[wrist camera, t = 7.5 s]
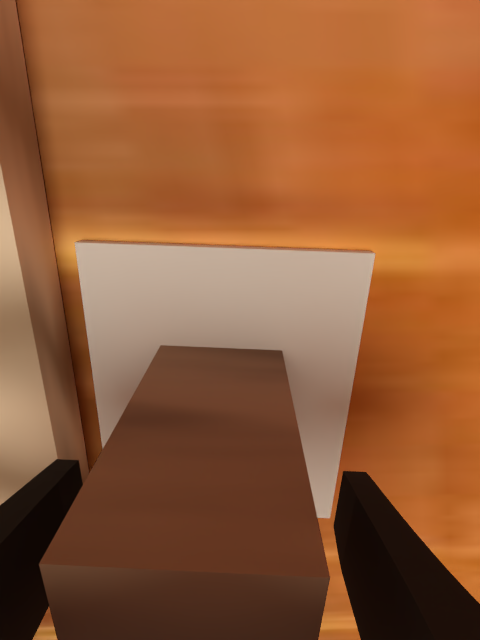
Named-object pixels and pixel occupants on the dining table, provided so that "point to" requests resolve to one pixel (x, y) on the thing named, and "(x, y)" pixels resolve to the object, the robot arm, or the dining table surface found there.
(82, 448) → the pocket board
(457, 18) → the dining table surface
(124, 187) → the dining table surface
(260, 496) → the block
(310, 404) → the felt pad
